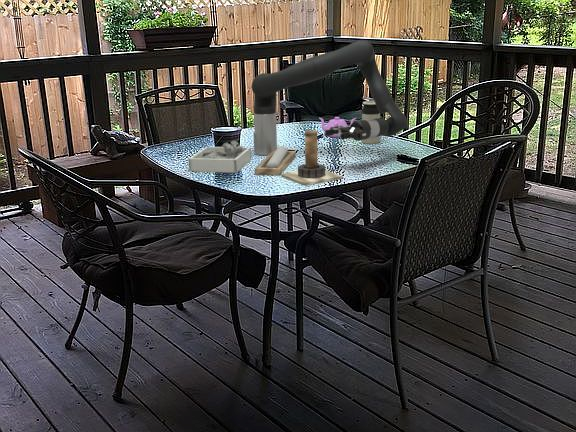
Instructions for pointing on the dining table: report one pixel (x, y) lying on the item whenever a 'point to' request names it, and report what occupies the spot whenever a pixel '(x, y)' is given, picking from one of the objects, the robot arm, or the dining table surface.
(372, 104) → the travel mug
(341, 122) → the teapot
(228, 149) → the coral
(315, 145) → the dowel
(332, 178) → the collar board
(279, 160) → the tube
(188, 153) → the dining table surface
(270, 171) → the tube rest
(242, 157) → the coral tray
